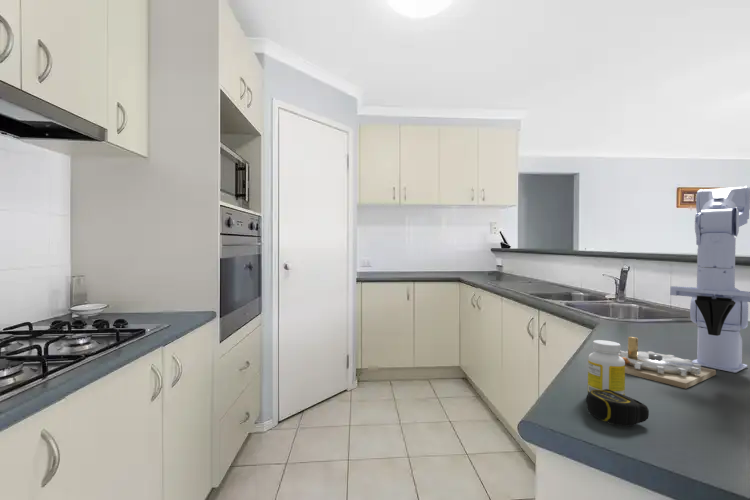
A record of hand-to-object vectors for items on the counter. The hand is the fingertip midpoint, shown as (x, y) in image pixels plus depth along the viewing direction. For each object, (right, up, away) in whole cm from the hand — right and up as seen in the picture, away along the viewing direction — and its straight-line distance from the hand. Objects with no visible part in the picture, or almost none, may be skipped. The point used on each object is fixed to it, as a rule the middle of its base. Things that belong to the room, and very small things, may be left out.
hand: (714, 334), depth 76 cm
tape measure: (-33, -9, -19) cm, 39 cm away
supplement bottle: (-30, -9, -12) cm, 33 cm away
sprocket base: (-8, -9, +6) cm, 13 cm away
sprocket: (-8, -8, +6) cm, 12 cm away
